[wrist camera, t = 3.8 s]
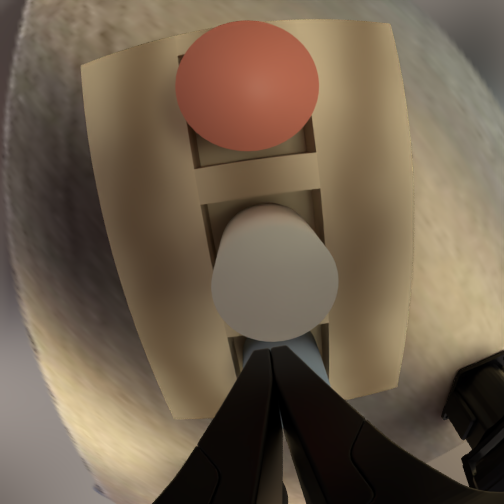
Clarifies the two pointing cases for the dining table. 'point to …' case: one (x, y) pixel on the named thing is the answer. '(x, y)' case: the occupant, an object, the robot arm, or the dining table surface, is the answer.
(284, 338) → the white rounded piece
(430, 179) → the dining table surface
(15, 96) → the dining table surface
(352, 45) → the light wood flat tray
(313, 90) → the red button
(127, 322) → the dining table surface
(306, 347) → the blue button
